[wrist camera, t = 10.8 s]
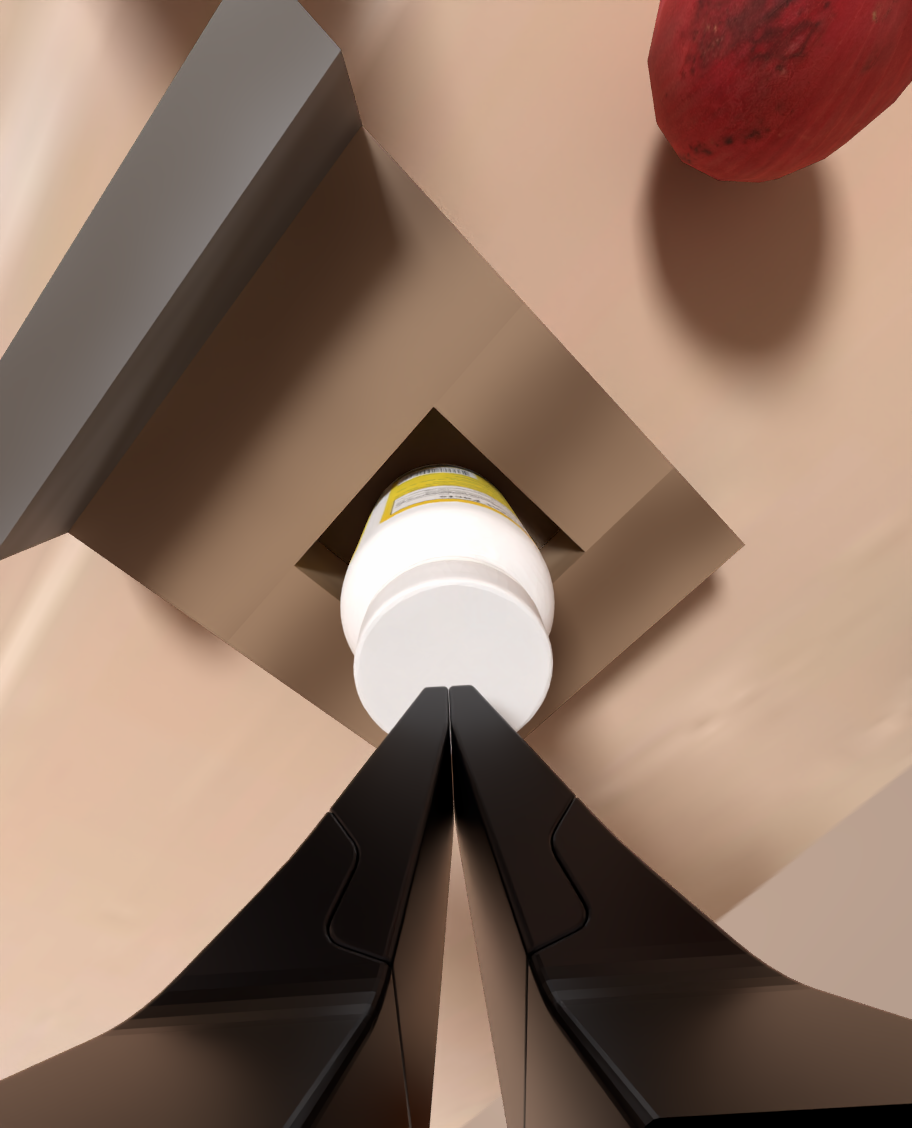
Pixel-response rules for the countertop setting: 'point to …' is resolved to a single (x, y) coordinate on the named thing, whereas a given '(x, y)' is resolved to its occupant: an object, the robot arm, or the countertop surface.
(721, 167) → the onion
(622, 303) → the countertop surface
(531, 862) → the robot arm
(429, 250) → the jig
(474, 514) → the supplement bottle
